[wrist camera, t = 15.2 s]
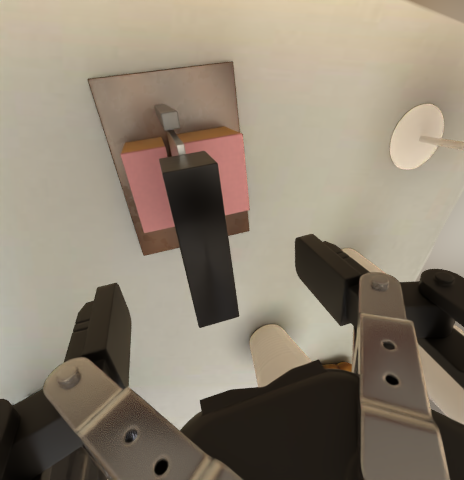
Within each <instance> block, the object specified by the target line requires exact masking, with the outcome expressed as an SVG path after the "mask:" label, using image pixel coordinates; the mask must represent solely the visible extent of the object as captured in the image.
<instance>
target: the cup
mask: <svg viewBox="0 0 464 480" xmlns="http://www.w3.org/2000/svg"><path fill="white" fill-rule="evenodd" d="M249 344H250V350H251V355H252V359H253V364H254V369H255V373H256V379H257V383H258V387H264V386H266V385H268V384H270V383H271V382H273V381H274V380H276V379H277V378H279V377H280V376H282V375H283V374H284V373H286V372H287V371H289V370H290V369H293V368H296V367H298V366H301V365H304V364H307V363H310V362H312V361H311V360H310V359H309V358H308V357H307V356H306V354H305V353H304V352H303V351H302V350H301V349H300V348H299V346H298V345H297V344H296V343H295V342H294V341H293V340H292V339H291V337H290V336H289V335H288V334H287V333H286V332H285V331H284V329H283V328H282V327H280V326H278V325H272V324H271V325H265V326H263V327H260V328H259V329H258V330H256V331H255V332H254V333H253V335H252V336H251V338H250V342H249Z"/></svg>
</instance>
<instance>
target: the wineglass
mask: <svg viewBox="0 0 464 480" xmlns="http://www.w3.org/2000/svg"><path fill="white" fill-rule="evenodd" d="M443 131H444V119H443V115H442V112H441V111H440V110H439V108H438V107H437V106H435V105H432V104H421V105H419V106H416V107H414V108H412V109H411V110H410V111H409V112H408V113H406V114H405V115H404V116H403V118H402V119H401V120H400V122H399V123H398V124H397V126H396V128H395V130H394V132H393V134H392V138H391V143H390V156H391V159H392V161H393V163H394V164H395V165H396V166H397V167H398V168H401V169H404V170H408V169H414V168H416V167H418V166H420V165H422V164H423V163H424V162H426V161H427V160H428V159H429V158H430V157H431V155H432V154H433V153H434V152H435V151H436V149H437V147H438V146H443V147H448V148H454V149H459V150H464V142H460V141H454V140H447V139H441V138H442V135H443Z"/></svg>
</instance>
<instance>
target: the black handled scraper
mask: <svg viewBox="0 0 464 480" xmlns="http://www.w3.org/2000/svg"><path fill="white" fill-rule="evenodd" d="M166 132H167V136H168V141H169V145H170V150H171V155H172V157H166V158H160V159H159V162H160V167H161V171H162V175H163V180H164V184H165V188H166V192H167V196H168V200H169V205H170V209H171V213H172V217H173V221H174V225H175V230H176V234H177V238H178V242H179V246H180V250H181V254H182V259H183V263H184V267H185V271H186V275H187V279H188V284H189V288H190V292H191V296H192V300H193V304H194V309H195V313H196V317H197V321H198V325H199V328H201V327H205V326H208V325H212V324H215V323H219V322H222V321H226V320H229V319H232V318H236V317H239V311H238V303H237V296H236V289H235V282H234V275H233V268H232V261H231V254H230V246H229V239H228V232H227V225H226V218H225V211H224V204H223V197H222V190H221V182H220V175H219V168H218V163H217V162H216V161H215V160H214V159H213V158H212V157H211V156H210V155H209V154H208V153H207V152H206V151H200V152H194V153H189V154H186V151H185V146H184V144H183V142H182V141H181V140H180V138H179V137H178V136H177V134H176V133H175V132H174V131H173V130H168V131H166Z"/></svg>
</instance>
